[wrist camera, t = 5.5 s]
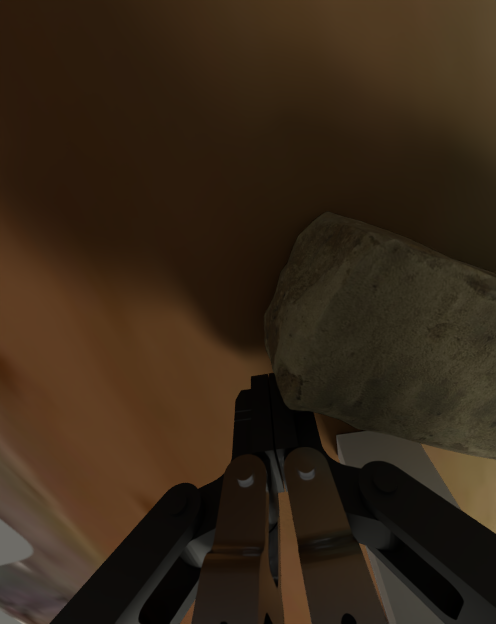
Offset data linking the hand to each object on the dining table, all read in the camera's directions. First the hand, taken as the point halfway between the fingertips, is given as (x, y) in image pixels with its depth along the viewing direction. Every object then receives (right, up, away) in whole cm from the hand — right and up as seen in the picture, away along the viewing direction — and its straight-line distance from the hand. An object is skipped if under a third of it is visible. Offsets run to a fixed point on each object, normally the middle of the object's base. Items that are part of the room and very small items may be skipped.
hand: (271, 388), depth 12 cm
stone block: (+6, +3, 0) cm, 7 cm away
